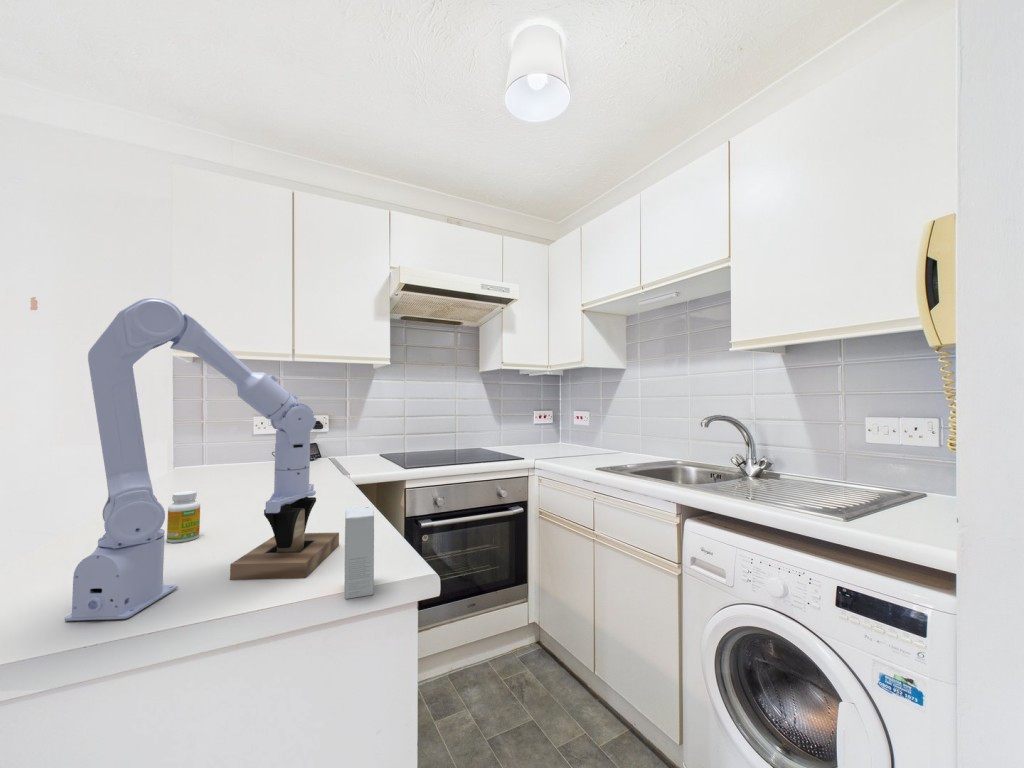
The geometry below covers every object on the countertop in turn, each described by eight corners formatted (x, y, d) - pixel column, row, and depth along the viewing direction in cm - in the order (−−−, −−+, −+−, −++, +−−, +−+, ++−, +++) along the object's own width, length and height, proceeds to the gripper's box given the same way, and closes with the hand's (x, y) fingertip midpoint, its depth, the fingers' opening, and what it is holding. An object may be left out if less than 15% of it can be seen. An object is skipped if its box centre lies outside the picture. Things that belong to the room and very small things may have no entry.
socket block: (305, 577, 68) (305, 562, 69) (229, 579, 68) (230, 564, 68) (338, 544, 84) (339, 532, 84) (277, 546, 83) (277, 533, 83)
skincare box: (344, 583, 66) (345, 507, 67) (372, 579, 68) (373, 505, 68) (343, 600, 61) (344, 517, 61) (374, 595, 62) (375, 514, 63)
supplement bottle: (181, 544, 84) (182, 496, 85) (159, 542, 85) (161, 494, 86) (205, 535, 90) (207, 490, 90) (185, 534, 91) (186, 489, 91)
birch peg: (297, 565, 74) (298, 513, 74) (271, 565, 73) (272, 514, 74) (307, 555, 78) (308, 507, 79) (283, 556, 78) (284, 508, 78)
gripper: (296, 474, 70) (295, 556, 69) (329, 461, 84) (328, 529, 83) (253, 475, 69) (251, 557, 69) (293, 462, 84) (292, 530, 83)
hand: (290, 542), depth 76 cm, fingers closed on birch peg, 4 cm apart
